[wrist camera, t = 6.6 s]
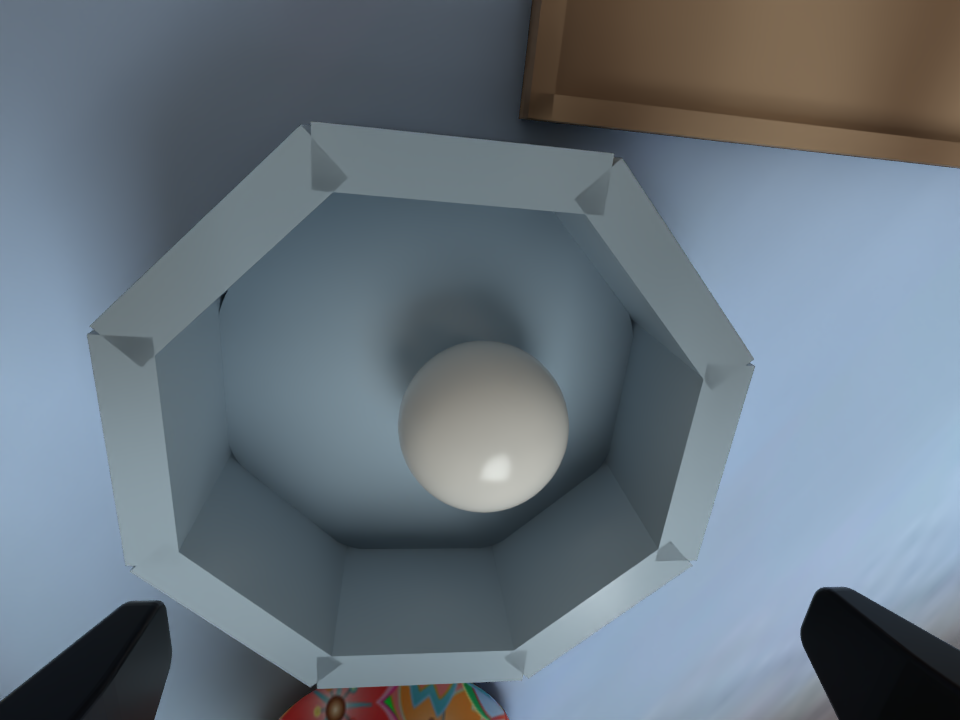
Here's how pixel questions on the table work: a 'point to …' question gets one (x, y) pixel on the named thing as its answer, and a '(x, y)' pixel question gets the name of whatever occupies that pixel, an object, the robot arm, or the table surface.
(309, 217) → the bowl
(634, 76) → the tray
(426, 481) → the white ball
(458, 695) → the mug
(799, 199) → the table surface
